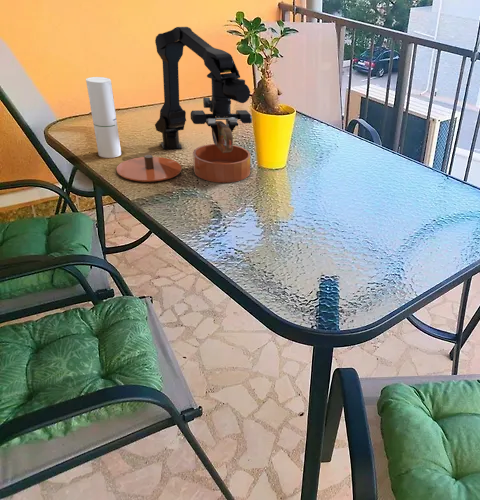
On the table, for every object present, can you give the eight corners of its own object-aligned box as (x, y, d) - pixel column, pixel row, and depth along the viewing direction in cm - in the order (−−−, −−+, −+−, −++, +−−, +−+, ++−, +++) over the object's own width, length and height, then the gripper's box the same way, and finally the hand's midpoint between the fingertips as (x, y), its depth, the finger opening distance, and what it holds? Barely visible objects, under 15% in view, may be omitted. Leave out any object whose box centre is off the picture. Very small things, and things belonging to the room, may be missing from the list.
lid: (115, 161, 157) (112, 146, 154) (176, 158, 165) (175, 144, 163) (119, 185, 142) (116, 170, 140) (186, 180, 151) (185, 166, 148)
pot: (189, 162, 164) (188, 144, 160) (242, 159, 172) (242, 142, 168) (200, 184, 150) (199, 165, 146) (256, 180, 158) (257, 162, 155)
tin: (211, 141, 161) (209, 117, 157) (220, 140, 163) (219, 116, 158) (226, 157, 151) (224, 132, 146) (235, 156, 152) (234, 131, 148)
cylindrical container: (125, 152, 164) (115, 79, 151) (114, 158, 158) (103, 83, 145) (105, 149, 165) (94, 75, 152) (94, 155, 158) (81, 80, 145)
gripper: (243, 88, 158) (243, 133, 166) (186, 87, 149) (188, 134, 158) (252, 97, 149) (251, 144, 158) (192, 97, 141) (195, 146, 149)
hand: (222, 142), depth 156 cm, fingers closed on tin, 3 cm apart
